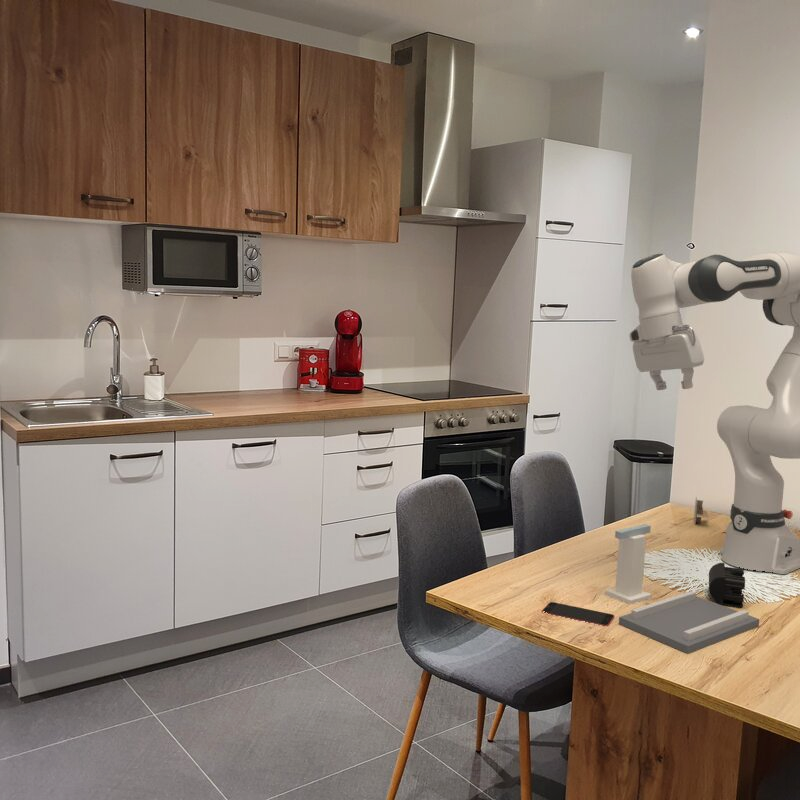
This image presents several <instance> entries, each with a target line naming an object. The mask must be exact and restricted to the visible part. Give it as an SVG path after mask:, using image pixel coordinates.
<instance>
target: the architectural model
mask: <svg viewBox="0 0 800 800" xmlns="http://www.w3.org/2000/svg"><path fill="white" fill-rule="evenodd" d="M694 502H695V503H694V504H695V505H694V515H693V524H694V526H696V523H701V520H702V518H705V519H709V513H708V511H707V510H704V508H703V507H704V506H703V504H704V500H701V499H698V498H697V497H695V501H694Z"/></svg>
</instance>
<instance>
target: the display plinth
mask: <svg viewBox="0 0 800 800" xmlns="http://www.w3.org/2000/svg"><path fill="white" fill-rule="evenodd" d="M749 612H750V611H748V610H745V609H742V610H740V611H739V610H736V609H734V608H732V607H728V606H722V605H720V604H719V603H717V602H714V601H710V600H709V599H706V598H704V597H700V596H697V592H695V591H692V590H690V591H687V592H684V593H680V594H677V595H675V596H671V597H669V598H665V599H662V600H658V601H656V602H652V603H649V604H645V605H643V606H640V607H637V608H633V609H631V612H630V613H627V614H625V615H622V616H619V617H618V625H620V626H622V627H625V628H627V629H629V630H632V631H634V632H636V631H637V633H639V634H641V635H644V636H646V637H647V638H650V639H652V640H655V641H657V642H660V643H662V644H664V645H666V646H669V647H671V648H674V649H676V650H677V651H681V652H682V653H685V654H691V653H694V652H697V651H698V650H700V649H701V650H702V649H703V648H705V647H708V646H712V645H714V644H716V643H719V642H721V641H724V640H726V639H729V638H731V637H734V636H737V635H740V634H741V633H745V632H748V631H750V630H752V629H755V628H757V627H758V628H759V626H760V618H758V617H756V616H752V615H749V614H750V613H749Z"/></svg>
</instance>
